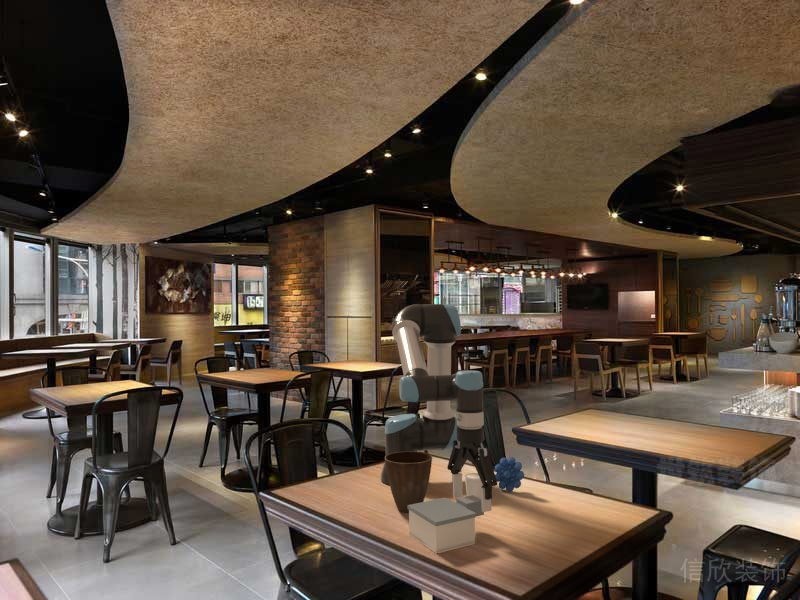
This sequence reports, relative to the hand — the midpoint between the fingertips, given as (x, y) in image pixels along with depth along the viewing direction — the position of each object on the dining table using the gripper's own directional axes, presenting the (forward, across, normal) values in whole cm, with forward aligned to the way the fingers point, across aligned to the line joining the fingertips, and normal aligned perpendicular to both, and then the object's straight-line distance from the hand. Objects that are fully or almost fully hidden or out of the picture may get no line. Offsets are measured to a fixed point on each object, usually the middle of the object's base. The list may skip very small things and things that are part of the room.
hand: (471, 503), depth 152 cm
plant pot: (+8, -25, -6) cm, 27 cm away
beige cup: (+8, -23, +18) cm, 30 cm away
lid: (+3, 0, -7) cm, 7 cm away
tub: (+8, 0, -10) cm, 13 cm away
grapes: (+8, -22, +32) cm, 40 cm away
